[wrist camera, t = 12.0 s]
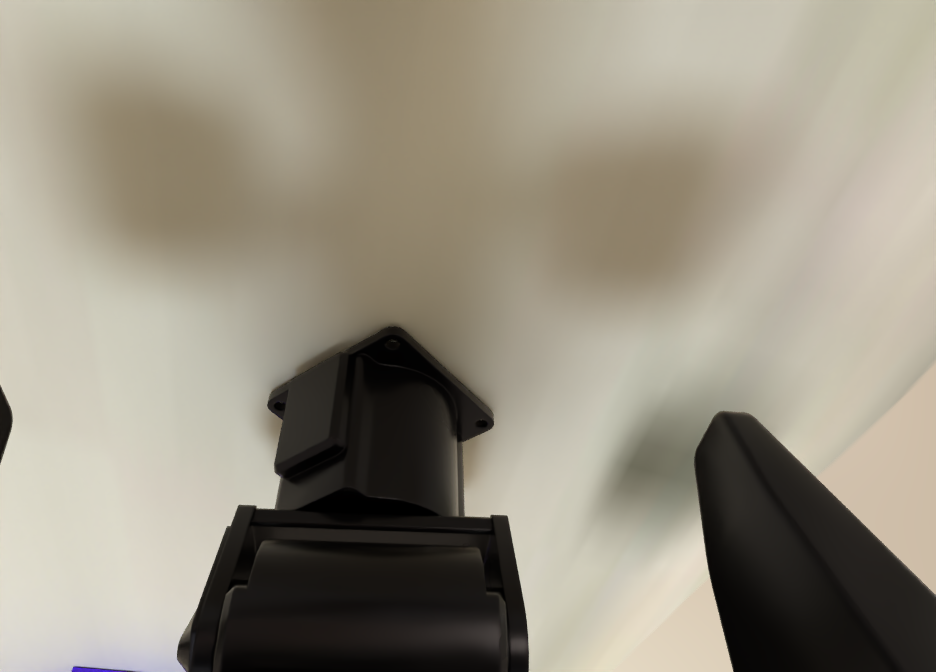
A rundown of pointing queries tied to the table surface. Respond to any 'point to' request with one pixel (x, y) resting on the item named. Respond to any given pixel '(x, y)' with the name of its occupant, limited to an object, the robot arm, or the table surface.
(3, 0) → the table surface
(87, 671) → the bracket
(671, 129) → the table surface
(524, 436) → the table surface
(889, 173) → the table surface
